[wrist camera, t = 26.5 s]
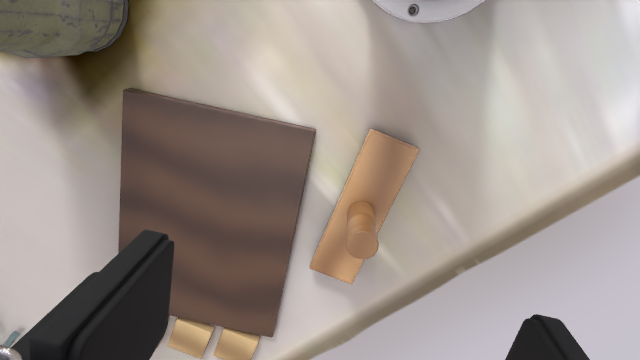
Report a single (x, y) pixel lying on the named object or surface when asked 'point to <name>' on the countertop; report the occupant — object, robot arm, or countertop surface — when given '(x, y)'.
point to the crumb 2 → (236, 345)
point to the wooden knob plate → (363, 206)
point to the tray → (214, 203)
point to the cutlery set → (11, 339)
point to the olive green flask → (60, 26)
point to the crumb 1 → (190, 336)
